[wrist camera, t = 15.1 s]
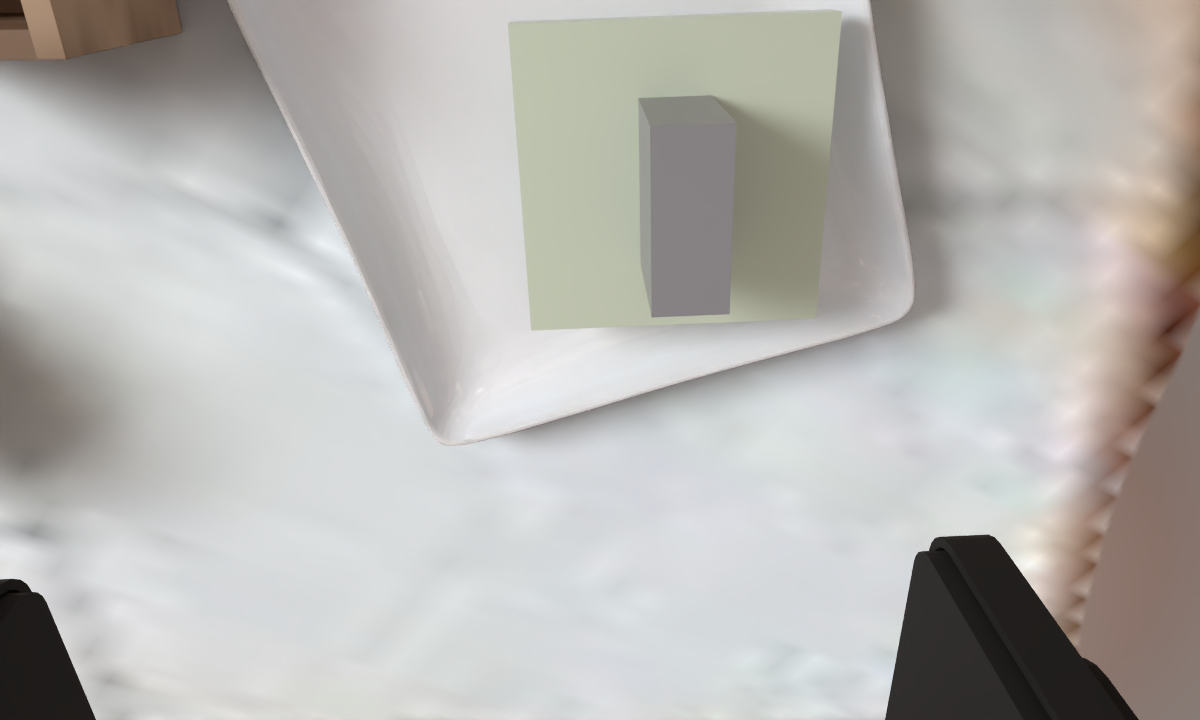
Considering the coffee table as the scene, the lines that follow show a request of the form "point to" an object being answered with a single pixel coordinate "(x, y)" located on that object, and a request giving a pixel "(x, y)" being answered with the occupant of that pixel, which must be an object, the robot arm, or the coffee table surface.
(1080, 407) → the coffee table surface
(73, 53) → the crate
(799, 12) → the lid
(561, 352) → the salad plate
